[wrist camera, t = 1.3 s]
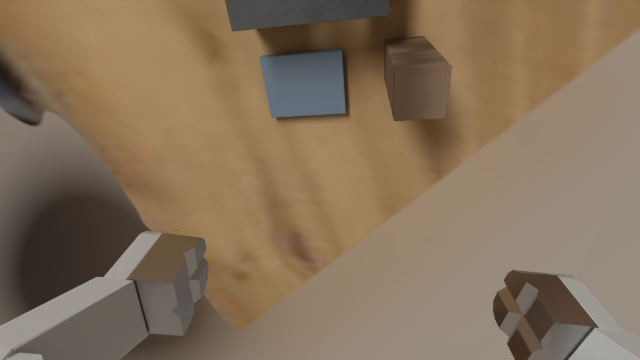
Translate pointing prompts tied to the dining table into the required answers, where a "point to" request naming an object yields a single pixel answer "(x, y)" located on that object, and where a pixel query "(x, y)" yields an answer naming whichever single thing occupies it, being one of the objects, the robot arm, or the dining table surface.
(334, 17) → the guard
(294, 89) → the pad
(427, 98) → the brown block
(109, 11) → the dining table surface
